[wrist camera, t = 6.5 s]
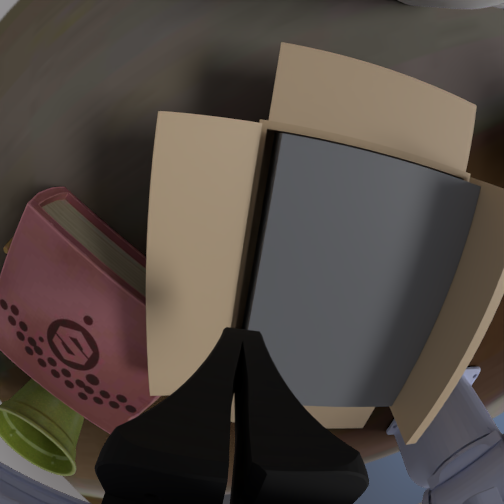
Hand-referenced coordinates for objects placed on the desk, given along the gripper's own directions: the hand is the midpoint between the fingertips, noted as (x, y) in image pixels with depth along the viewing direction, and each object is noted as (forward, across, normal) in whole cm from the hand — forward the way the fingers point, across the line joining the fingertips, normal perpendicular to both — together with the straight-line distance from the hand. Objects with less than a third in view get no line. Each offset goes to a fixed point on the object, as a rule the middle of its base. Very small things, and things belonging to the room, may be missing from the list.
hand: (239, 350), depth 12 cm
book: (+11, +12, +7) cm, 17 cm away
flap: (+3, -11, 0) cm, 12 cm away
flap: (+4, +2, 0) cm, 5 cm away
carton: (+10, -5, 0) cm, 12 cm away
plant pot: (+10, +17, +18) cm, 26 cm away
